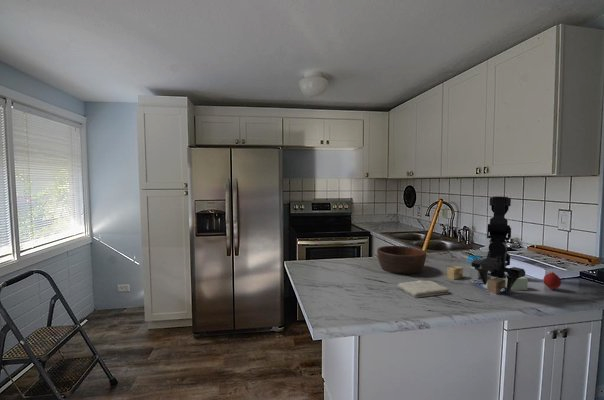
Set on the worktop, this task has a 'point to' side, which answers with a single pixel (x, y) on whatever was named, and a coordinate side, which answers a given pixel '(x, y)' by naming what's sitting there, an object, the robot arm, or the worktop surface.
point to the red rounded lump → (552, 280)
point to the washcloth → (422, 288)
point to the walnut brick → (495, 285)
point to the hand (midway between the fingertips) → (496, 287)
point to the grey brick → (474, 273)
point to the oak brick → (455, 272)
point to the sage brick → (519, 284)
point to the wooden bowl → (401, 259)
